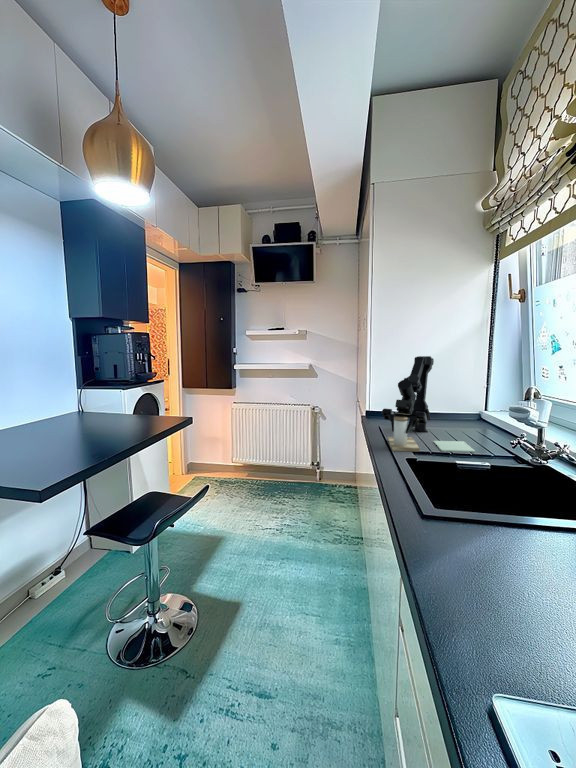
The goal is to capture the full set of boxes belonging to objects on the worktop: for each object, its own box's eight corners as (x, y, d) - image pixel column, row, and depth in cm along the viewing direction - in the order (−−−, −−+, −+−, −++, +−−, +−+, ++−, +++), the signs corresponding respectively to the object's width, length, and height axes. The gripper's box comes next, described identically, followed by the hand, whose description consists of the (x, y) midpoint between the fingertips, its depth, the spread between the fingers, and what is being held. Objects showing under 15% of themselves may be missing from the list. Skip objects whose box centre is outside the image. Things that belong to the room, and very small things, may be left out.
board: (387, 440, 153) (387, 436, 153) (412, 440, 151) (412, 437, 151) (392, 450, 138) (392, 447, 137) (419, 451, 136) (419, 448, 135)
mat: (433, 442, 148) (433, 440, 148) (463, 442, 146) (464, 441, 146) (441, 451, 136) (441, 449, 135) (475, 452, 133) (475, 450, 133)
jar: (392, 442, 145) (392, 415, 144) (406, 442, 144) (406, 416, 142) (394, 446, 139) (394, 418, 138) (408, 446, 138) (409, 419, 137)
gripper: (383, 391, 148) (373, 419, 140) (426, 393, 137) (418, 424, 129) (388, 405, 155) (380, 432, 147) (430, 408, 144) (423, 439, 136)
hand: (399, 432), depth 140 cm, fingers closed on jar, 6 cm apart
